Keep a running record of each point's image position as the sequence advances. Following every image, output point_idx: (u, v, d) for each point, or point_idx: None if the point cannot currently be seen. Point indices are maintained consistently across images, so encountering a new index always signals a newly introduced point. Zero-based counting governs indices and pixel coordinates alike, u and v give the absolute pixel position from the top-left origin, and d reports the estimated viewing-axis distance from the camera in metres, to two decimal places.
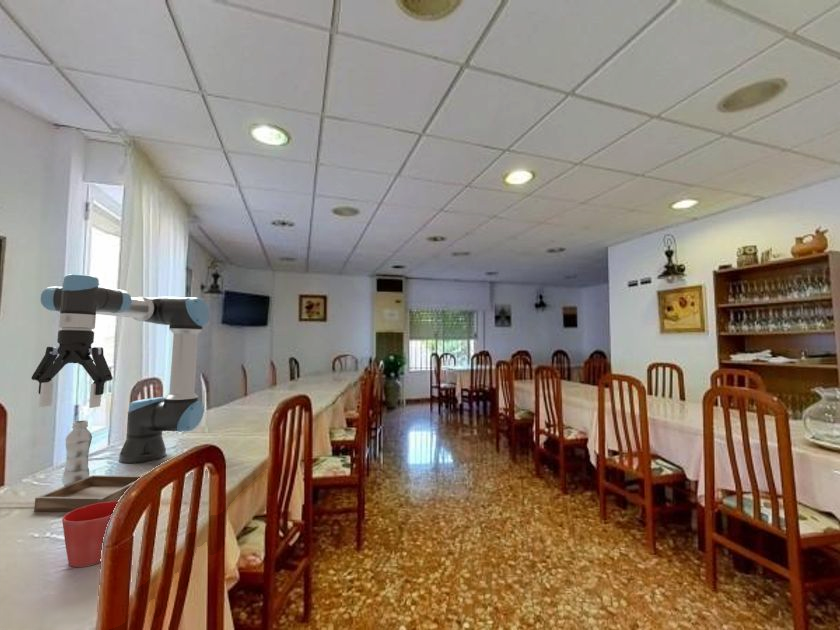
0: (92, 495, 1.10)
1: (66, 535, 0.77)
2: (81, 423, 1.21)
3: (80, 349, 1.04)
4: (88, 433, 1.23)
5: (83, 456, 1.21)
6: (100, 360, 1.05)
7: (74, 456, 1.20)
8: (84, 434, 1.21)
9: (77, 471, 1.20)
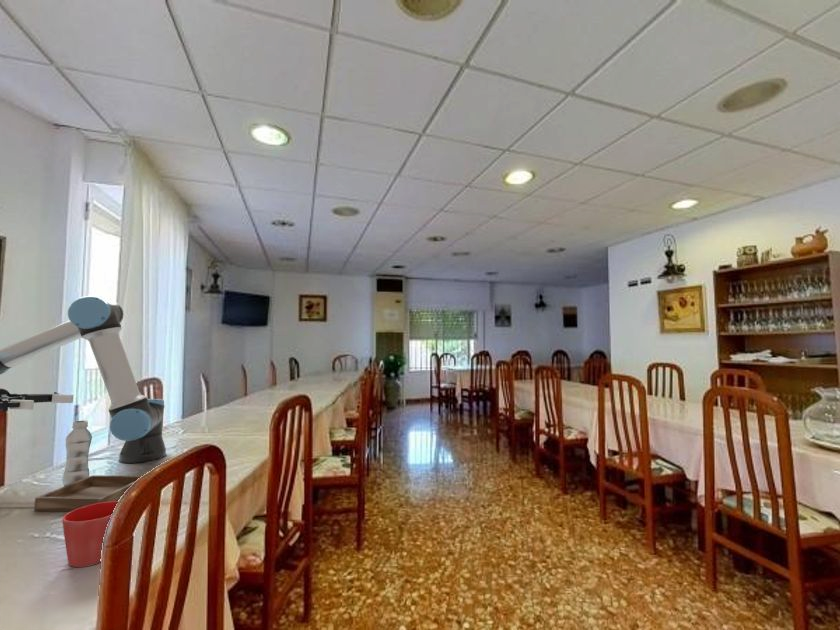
0: (92, 495, 1.10)
1: (66, 535, 0.77)
2: (81, 423, 1.21)
3: None
4: (88, 433, 1.23)
5: (83, 456, 1.21)
6: None
7: (74, 456, 1.20)
8: (84, 434, 1.21)
9: (77, 471, 1.20)
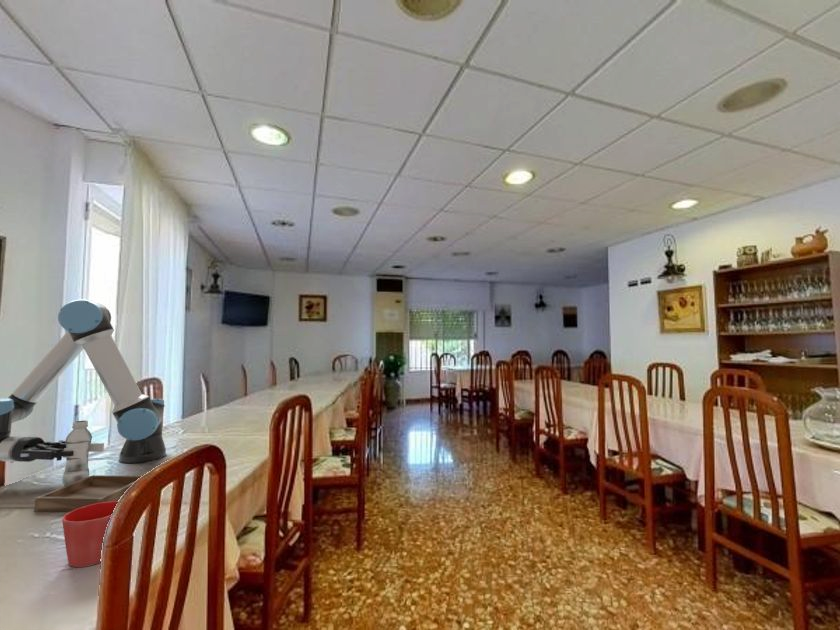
0: (92, 495, 1.10)
1: (66, 535, 0.77)
2: (81, 423, 1.21)
3: None
4: (88, 433, 1.23)
5: None
6: (33, 456, 1.16)
7: None
8: (84, 434, 1.21)
9: (77, 471, 1.20)
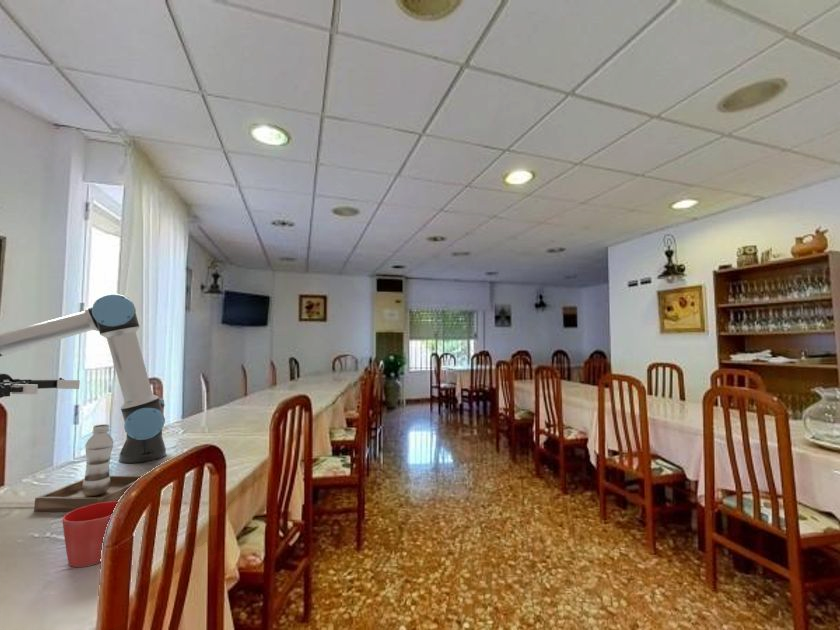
0: None
1: (66, 535, 0.77)
2: (102, 427, 1.12)
3: None
4: (109, 438, 1.13)
5: (104, 463, 1.11)
6: None
7: (95, 463, 1.10)
8: (105, 440, 1.12)
9: (98, 480, 1.10)
